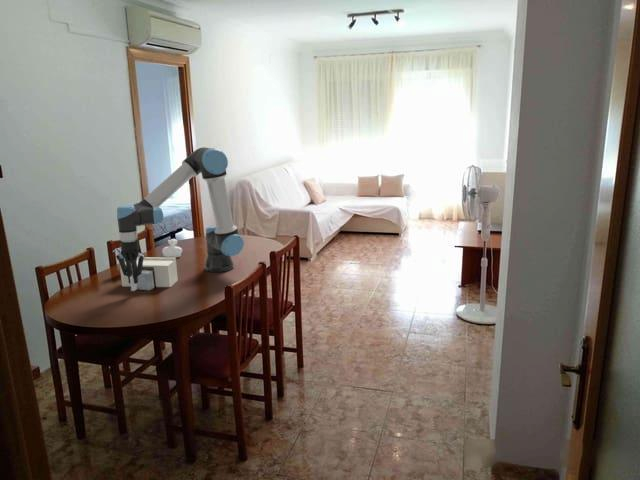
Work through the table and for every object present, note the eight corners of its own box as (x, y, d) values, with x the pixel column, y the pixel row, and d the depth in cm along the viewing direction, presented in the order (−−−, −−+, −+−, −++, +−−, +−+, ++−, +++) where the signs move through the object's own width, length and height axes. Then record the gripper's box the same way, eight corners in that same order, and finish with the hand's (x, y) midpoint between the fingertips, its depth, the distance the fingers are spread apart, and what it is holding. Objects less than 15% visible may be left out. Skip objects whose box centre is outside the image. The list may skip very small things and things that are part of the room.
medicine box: (154, 288, 239) (153, 270, 237) (148, 291, 235) (146, 273, 233) (141, 286, 242) (139, 269, 240) (135, 289, 238) (133, 271, 236)
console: (177, 280, 249) (175, 257, 246) (170, 287, 239) (167, 263, 237) (131, 279, 252) (129, 257, 249) (122, 286, 242) (119, 262, 239)
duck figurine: (183, 260, 291) (186, 242, 296) (178, 255, 284) (182, 237, 289) (163, 259, 293) (167, 242, 297) (158, 255, 286) (162, 237, 290)
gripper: (146, 238, 227) (151, 287, 233) (119, 237, 228) (124, 286, 234) (138, 242, 220) (144, 293, 225) (110, 242, 221) (116, 292, 227)
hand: (134, 289), depth 230 cm, fingers closed
